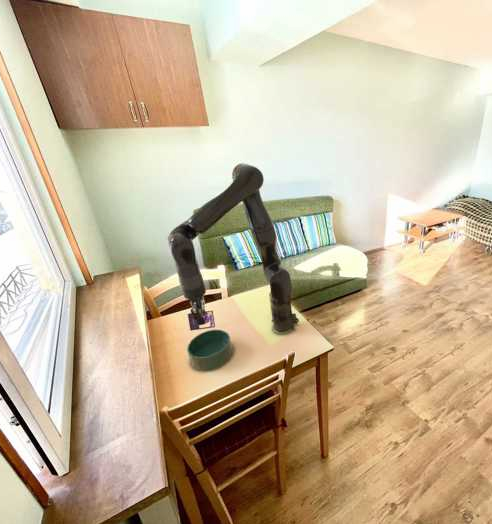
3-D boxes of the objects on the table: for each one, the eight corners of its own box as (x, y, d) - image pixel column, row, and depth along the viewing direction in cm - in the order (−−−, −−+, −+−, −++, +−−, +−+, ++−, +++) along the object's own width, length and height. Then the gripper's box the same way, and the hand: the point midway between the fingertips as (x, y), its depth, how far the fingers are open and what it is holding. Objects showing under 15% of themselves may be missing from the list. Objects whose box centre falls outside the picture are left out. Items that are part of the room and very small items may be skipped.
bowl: (233, 338, 126) (230, 326, 123) (232, 365, 112) (228, 352, 109) (194, 346, 122) (190, 333, 119) (188, 374, 108) (183, 362, 105)
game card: (187, 314, 105) (212, 311, 107) (191, 310, 110) (215, 307, 112) (189, 331, 106) (214, 327, 108) (193, 326, 111) (217, 323, 113)
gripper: (200, 292, 96) (211, 330, 104) (205, 272, 108) (214, 308, 116) (176, 295, 94) (189, 334, 102) (184, 275, 106) (195, 311, 114)
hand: (202, 320), depth 109 cm, fingers closed on game card, 4 cm apart
